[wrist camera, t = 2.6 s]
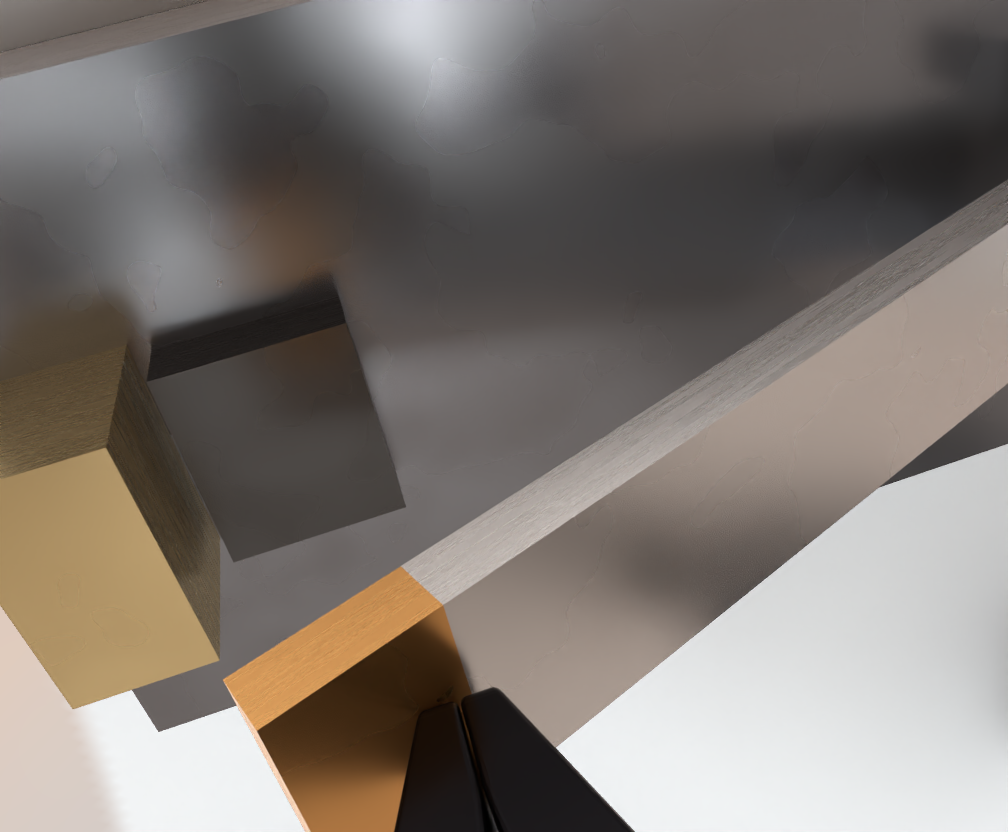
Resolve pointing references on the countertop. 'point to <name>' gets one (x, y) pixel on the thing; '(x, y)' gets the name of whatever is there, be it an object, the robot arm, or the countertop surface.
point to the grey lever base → (413, 277)
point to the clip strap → (640, 528)
